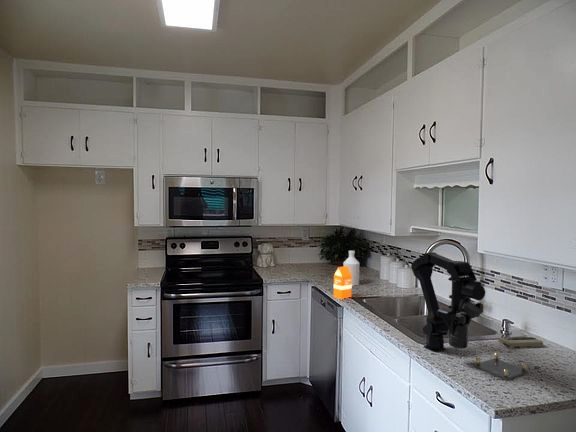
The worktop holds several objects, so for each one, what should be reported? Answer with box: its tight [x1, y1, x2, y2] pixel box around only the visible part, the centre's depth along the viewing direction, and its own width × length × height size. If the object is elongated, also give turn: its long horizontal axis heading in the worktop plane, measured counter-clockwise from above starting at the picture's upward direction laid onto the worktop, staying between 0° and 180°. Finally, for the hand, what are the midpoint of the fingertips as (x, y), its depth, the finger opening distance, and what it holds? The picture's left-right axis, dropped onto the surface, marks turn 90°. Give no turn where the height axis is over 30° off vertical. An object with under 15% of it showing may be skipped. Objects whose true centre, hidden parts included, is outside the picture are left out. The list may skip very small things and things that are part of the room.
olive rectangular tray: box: [498, 336, 544, 349], centre depth 171 cm, size 16×8×3 cm, turn 96°
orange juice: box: [333, 266, 353, 300], centre depth 249 cm, size 8×9×20 cm
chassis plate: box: [473, 352, 529, 382], centre depth 145 cm, size 13×13×3 cm
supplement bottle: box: [448, 314, 469, 350], centre depth 151 cm, size 7×7×12 cm
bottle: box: [342, 250, 361, 287], centre depth 286 cm, size 12×12×25 cm
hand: (458, 333), depth 151 cm, fingers closed on supplement bottle, 7 cm apart
